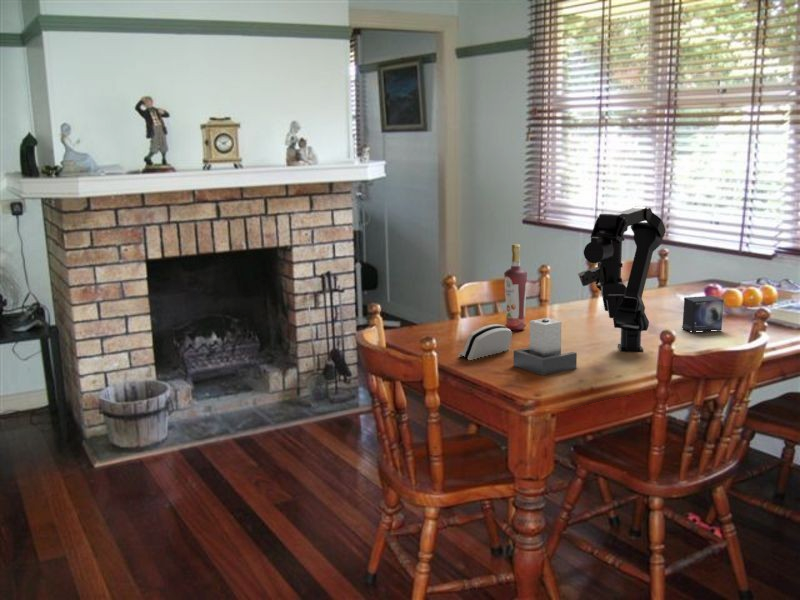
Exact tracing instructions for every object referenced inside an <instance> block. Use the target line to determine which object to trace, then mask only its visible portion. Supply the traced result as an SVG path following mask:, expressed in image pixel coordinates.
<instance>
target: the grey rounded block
mask: <svg viewBox="0 0 800 600" xmlns="http://www.w3.org/2000/svg"><path fill="white" fill-rule="evenodd" d="M512 336H513V331H511V330H510V329H508V328H507V327H506V326H505V325H503V324H497V323H494V324H488V325H485V326H482V327H480V328H477V329H475V330H474V331H473V332H471V333H470V334H468V338H467V340H466V343H465V346H464V348H463V350H462V351H460V352H459V355H458V358H459V357H461V358H465V357H467V359H468V361H469V360H472V361H474V360H473V359H475V360H478V359H477V358H479V359H481V358H480V357H482V358H485V357H484V356H486V357H489V356H488V355H490V356H492V354H493V355H496V353H497V354H500V353H504V352H507V350H508V351H509V350H510V346H511V341H512ZM503 351H504V352H503ZM462 356H464V357H462Z"/></svg>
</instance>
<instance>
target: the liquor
mask: <svg viewBox="0 0 800 600" xmlns="http://www.w3.org/2000/svg"><path fill="white" fill-rule="evenodd" d="M520 252H521V244H519V243H514V244H513V243H512V244H511V263H510V264H511V265H510V268H509V269H507V270H506V271H505V272H504V275H503V276H504V296H505V314H506V315H505V319H506V320H505V321H506V323H505V324H504V326H506V327H507V328H508V329H510V330H513V331H512V332H519V331H520V330H521V331H523V330H524V329H525V328H526V326H527V325H526V323H525V322H526V301H527V299H526V297H527V281H528V279H527V278H528V272H527V271H526V270H524V269H523V268H521V260H520V259H521V258H520Z"/></svg>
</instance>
